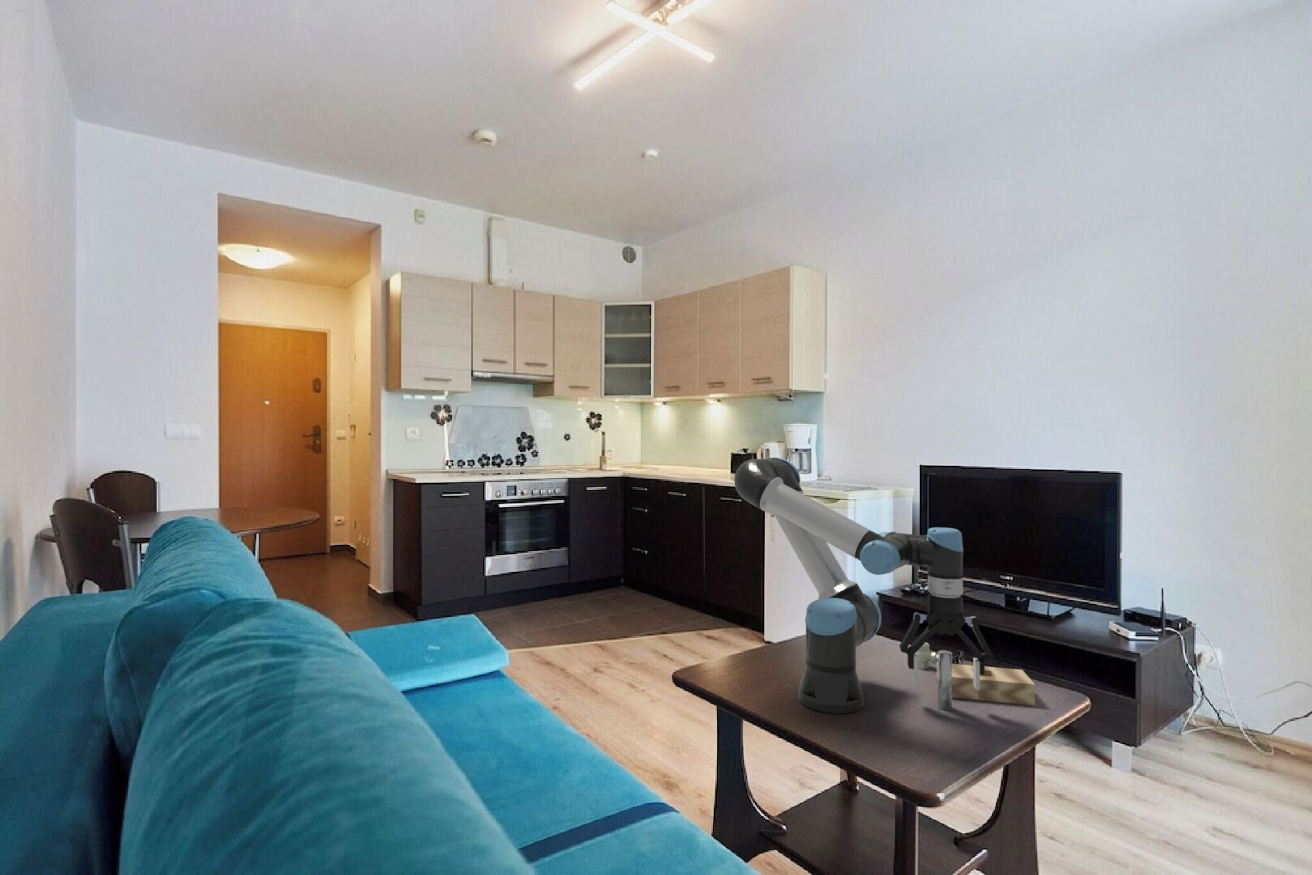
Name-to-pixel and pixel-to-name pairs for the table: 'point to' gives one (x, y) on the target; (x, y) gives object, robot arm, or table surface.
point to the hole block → (993, 685)
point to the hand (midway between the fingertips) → (945, 685)
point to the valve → (933, 657)
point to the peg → (945, 680)
